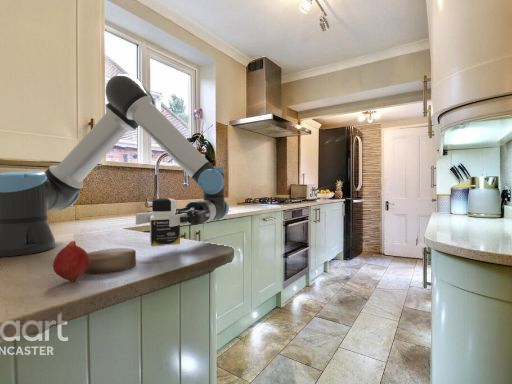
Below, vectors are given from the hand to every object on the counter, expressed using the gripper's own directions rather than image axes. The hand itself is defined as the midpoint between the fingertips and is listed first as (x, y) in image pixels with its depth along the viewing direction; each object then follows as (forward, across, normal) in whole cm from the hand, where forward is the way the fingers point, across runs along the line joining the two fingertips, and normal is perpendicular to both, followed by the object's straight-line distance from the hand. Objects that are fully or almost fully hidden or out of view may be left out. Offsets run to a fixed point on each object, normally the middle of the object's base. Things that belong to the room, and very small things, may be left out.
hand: (153, 220), depth 69 cm
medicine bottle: (-4, 0, -7) cm, 8 cm away
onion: (+18, +4, -10) cm, 21 cm away
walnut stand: (+8, +6, -10) cm, 14 cm away
